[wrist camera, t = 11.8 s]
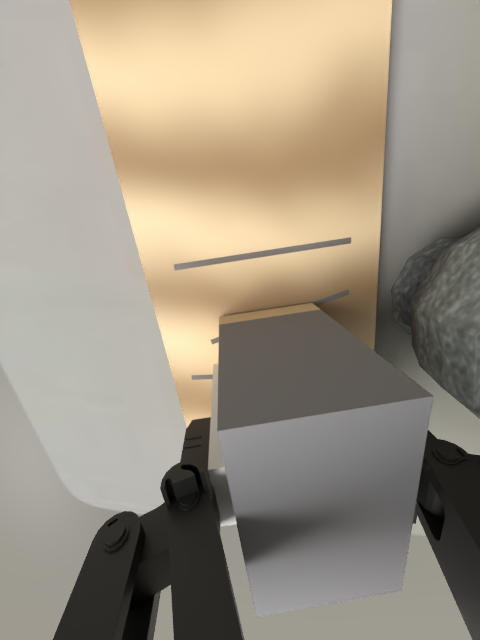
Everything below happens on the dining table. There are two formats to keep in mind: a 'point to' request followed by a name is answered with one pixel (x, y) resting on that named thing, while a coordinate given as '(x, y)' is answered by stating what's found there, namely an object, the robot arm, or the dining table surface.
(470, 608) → the robot arm
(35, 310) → the dining table surface
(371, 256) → the board
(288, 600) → the block
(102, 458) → the dining table surface
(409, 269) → the mortar and pestle
